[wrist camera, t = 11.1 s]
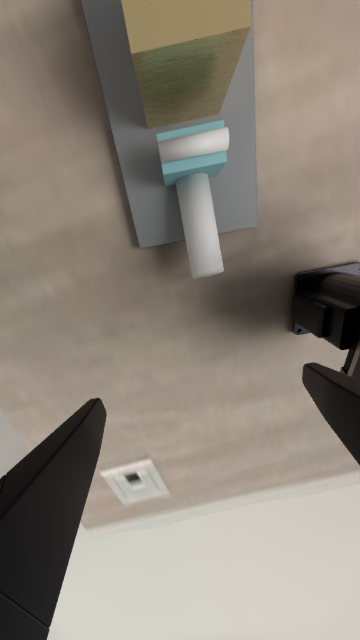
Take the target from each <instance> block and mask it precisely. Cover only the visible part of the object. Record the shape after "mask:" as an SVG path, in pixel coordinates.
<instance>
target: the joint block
mask: <svg viewBox="0 0 360 640" xmlns="http://www.w3.org/2000/svg"><path fill="white" fill-rule="evenodd" d="M121 2H122V7H123V13H124V18H125V23H126V29H127V34H128V39H129V44H130V50H131V55H132V59H133V64H134V68H135V73H136V77H137V81H138V86H139V90H140V95H141V99H142V104H143V108H144V113H145V117H146V121H147V126H148V129H152V128H157V127H161V126H166V125H171V124H175V123H180V122H185V121H189V120H194V119H199V118H203V117H208V116H213V115H217V114H219V113H220V110H221V108H222V105H223V102H224V99H225V97H226V94H227V91H228V88H229V86H230V83H231V80H232V77H233V75H234V72H235V69H236V67H237V64H238V61H239V58H240V56H241V53H242V50H243V47H244V45H245V42H246V39H247V36H248V34H249V31H250V28H251V2H250V0H121Z"/></svg>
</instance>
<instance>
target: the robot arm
mask: <svg viewBox="0 0 360 640" xmlns="http://www.w3.org/2000/svg"><path fill="white" fill-rule="evenodd" d="M359 267H360V262H357V263H352V264H346V265H340V266H335V267H329V268H324V269H318V270H313V271H307V272H302V273H298V274H297V275H296V276H295V280H294V296H293V297H292V318H291V319H292V320H293V322H292V331H293V333H295V334H296V335H301V334H307V333H312V334H314V335H315V336H316V337H318V338H323V339H325V340H326V341H328V342H329V343H331V344H333V345H334V346H336V347H337V348H339V349H340V350H346V349H349V352H348V355H347V358H346V361H345V364H344V367H342V368H341V371H340V372H338V371H335V370H333V369H330V368H328V367H325V366H322V365H320V364H317V363H308V364H304V366H303V375H302V381H303V384H304V386H305V388H306V389H307V391H308V393H309V394H310V396H311V397H312V399H313V401H314V402H315V404H316V406H317V407H318V409H319V411H320V412H321V414H322V415H323V417H324V418H325V420H326V421H327V422H328V424H329V425H330V427H331V428H332V429H333V430H334V432H335V433H336V434H337V436H338V437H339V438H340V440H341V441H342V442H343V444H344V445H345V446H346V448H347V449H348V450H349V452H350V453H351V454H352V456H353V457H354V458H355V460H356V461H357V462H358V464H359V465H360V269H359ZM301 276H302V277H303V278H302V280H300V277H301ZM297 329H299V330H298V331H297ZM105 422H106V410H105V407H104V405H103V403H102V400H101V399H100V398H94V399H90V400H89V401H88V402H86V403H85V404H84V405H83V406H82V407H81V408H80V409H79V410H77V411H76V412H75V413H74V414H73V415H72V416H71V417H69V418H68V419H67V420H66V421H65V422H64V423H63V424H62V425H60V426H59V427H58V428H57V429H56V430H55V431H54V432H53V433H51V434H50V435H49V436H48V437H47V438H46V439H45V440H44V441H42V442H41V443H40V444H39V445H38V446H37V447H36V448H34V449H33V450H32V451H31V452H30V453H29V454H28V455H27V456H25V457H24V458H23V459H22V460H21V461H20V462H19V463H18V464H16V465H15V466H14V467H13V468H12V469H11V470H10V471H9V472H7V474H6V475H4V476H3V477H2V478H1V479H0V640H47V637H48V633H49V627H50V625H51V622H52V618H53V615H54V611H55V608H56V604H57V601H58V597H59V594H60V590H61V587H62V583H63V580H64V576H65V573H66V569H67V566H68V562H69V559H70V555H71V552H72V548H73V545H74V541H75V537H76V534H77V531H78V527H79V524H80V520H81V517H82V513H83V510H84V506H85V503H86V499H87V496H88V492H89V489H90V485H91V482H92V478H93V475H94V471H95V468H96V464H97V461H98V457H99V453H100V449H101V443H102V438H103V433H104V427H105Z"/></svg>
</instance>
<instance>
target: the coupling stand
mask: <svg viewBox="0 0 360 640" xmlns="http://www.w3.org/2000/svg"><path fill="white" fill-rule="evenodd" d="M250 2H251V28H250V31H249V34H248V36H247V39H246V42H245V45H244V47H243V50H242V53H241V56H240V58H239V61H238V64H237V67H236V69H235V72H234V75H233V77H232V80H231V83H230V86H229V88H228V91H227V94H226V97H225V99H224V102H223V105H222V108H221V110H220V113H219V114H217V115H213V116H208V117H203V118H199V119H194V120H189V121H185V122H180V123H175V124H171V125H166V126H161V127H157V128H152V129H148V126H147V121H146V117H145V113H144V108H143V104H142V99H141V95H140V90H139V86H138V81H137V77H136V73H135V68H134V64H133V59H132V55H131V50H130V44H129V39H128V34H127V29H126V23H125V18H124V13H123V7H122V2H121V0H81V4H82V8H83V12H84V16H85V21H86V25H87V29H88V33H89V37H90V42H91V46H92V50H93V54H94V58H95V62H96V67H97V71H98V75H99V79H100V83H101V88H102V92H103V96H104V100H105V104H106V108H107V113H108V117H109V121H110V125H111V129H112V134H113V138H114V142H115V146H116V150H117V154H118V159H119V163H120V167H121V171H122V175H123V180H124V184H125V188H126V192H127V196H128V200H129V205H130V209H131V213H132V217H133V221H134V226H135V230H136V234H137V238H138V242H139V246H140V249H141V248H146V247H151V246H157V245H162V244H167V243H172V242H178V241H183V240H186V246H187V252H188V257H189V263H190V269H191V275H192V278H202V277H208V276H213V275H216V274H219V273H222V272H223V271H224V268H223V262H222V256H221V250H220V244H219V238H218V234H220V233H225V232H230V231H235V230H241V229H246V228H251V227H257V226H258V219H257V174H256V128H255V83H254V37H253V0H250Z"/></svg>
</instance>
